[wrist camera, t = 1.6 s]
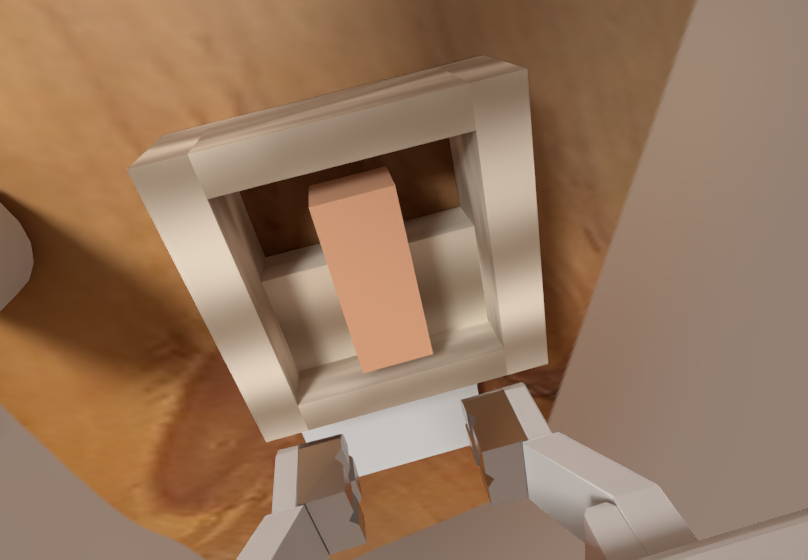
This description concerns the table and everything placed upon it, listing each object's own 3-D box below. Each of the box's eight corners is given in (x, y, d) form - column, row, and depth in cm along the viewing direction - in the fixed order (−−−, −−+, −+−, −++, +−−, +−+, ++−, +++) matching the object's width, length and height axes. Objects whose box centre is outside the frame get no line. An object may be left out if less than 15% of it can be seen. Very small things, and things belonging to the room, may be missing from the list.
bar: (308, 186, 25) (308, 207, 22) (386, 166, 25) (395, 185, 22) (358, 341, 30) (363, 373, 27) (422, 323, 30) (433, 354, 27)
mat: (289, 393, 35) (288, 403, 34) (467, 344, 35) (471, 353, 34) (325, 475, 39) (325, 485, 38) (482, 431, 40) (486, 440, 39)
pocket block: (163, 134, 25) (126, 169, 20) (483, 54, 26) (527, 68, 21) (272, 374, 34) (266, 442, 29) (512, 309, 34) (548, 363, 29)
